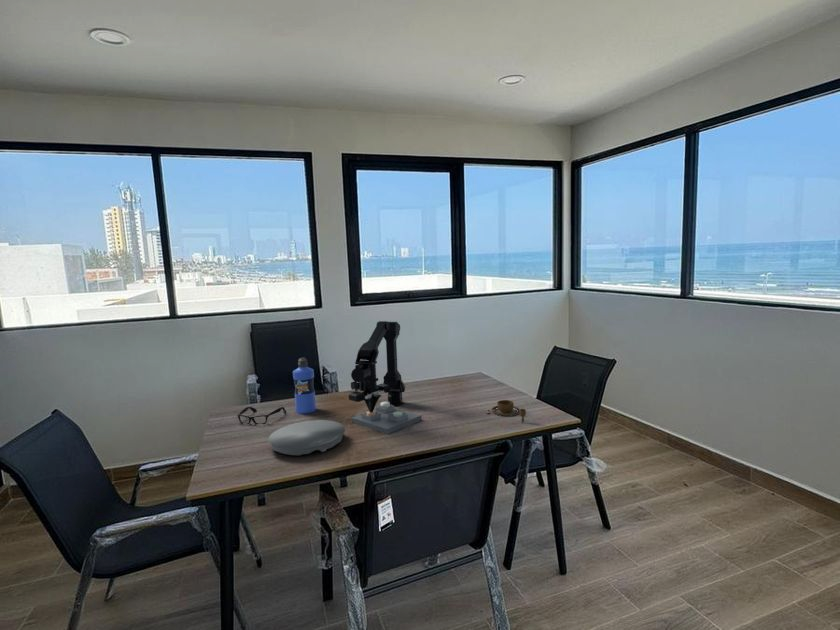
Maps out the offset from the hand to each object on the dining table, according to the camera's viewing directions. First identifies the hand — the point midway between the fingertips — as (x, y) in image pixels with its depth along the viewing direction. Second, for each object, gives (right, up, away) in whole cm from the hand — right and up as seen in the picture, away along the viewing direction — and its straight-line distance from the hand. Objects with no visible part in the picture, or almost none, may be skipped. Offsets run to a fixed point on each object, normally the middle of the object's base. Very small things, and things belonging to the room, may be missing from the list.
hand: (371, 412), depth 190 cm
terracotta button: (0, -2, 0) cm, 2 cm away
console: (+6, -4, +1) cm, 8 cm away
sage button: (+11, -2, -2) cm, 12 cm away
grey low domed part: (-22, -8, -20) cm, 31 cm away
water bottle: (-32, -4, +20) cm, 38 cm away
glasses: (-50, -6, +12) cm, 52 cm away
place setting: (+58, -3, +3) cm, 58 cm away
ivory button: (+5, 0, +9) cm, 10 cm away
